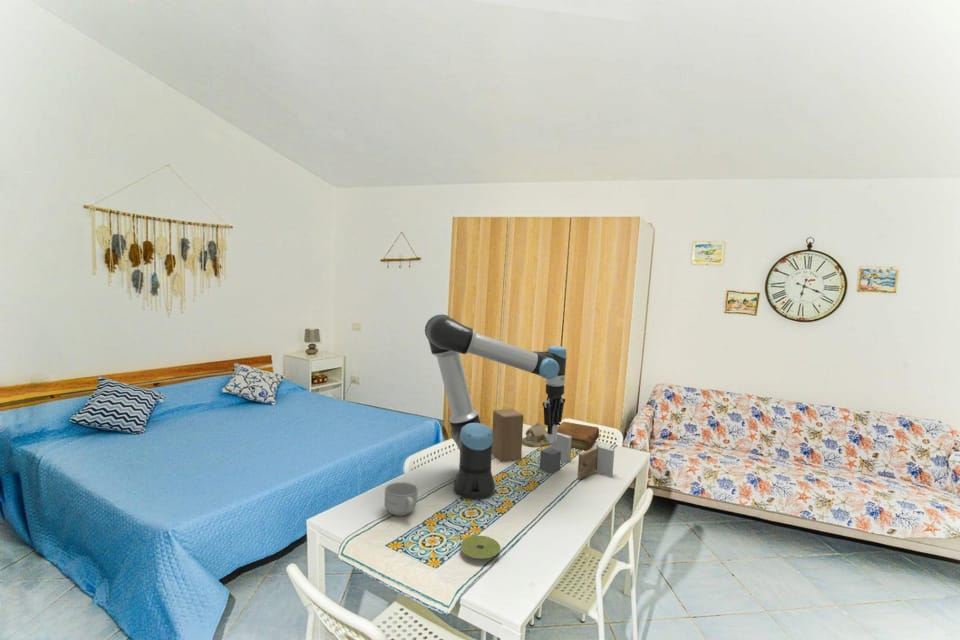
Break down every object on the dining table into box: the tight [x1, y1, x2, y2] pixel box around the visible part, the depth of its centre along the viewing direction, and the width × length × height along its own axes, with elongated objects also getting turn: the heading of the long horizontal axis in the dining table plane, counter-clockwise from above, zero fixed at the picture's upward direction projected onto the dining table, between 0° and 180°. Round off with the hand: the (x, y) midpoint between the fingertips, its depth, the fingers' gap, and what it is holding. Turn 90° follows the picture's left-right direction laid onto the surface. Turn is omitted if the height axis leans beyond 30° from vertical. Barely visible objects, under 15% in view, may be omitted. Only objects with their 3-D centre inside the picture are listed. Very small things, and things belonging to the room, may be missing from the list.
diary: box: [549, 420, 600, 452], centre depth 227 cm, size 23×19×6 cm
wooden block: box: [491, 408, 524, 463], centre depth 202 cm, size 10×10×20 cm
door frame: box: [550, 433, 615, 478], centre depth 195 cm, size 2×29×11 cm, turn 47°
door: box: [576, 444, 599, 480], centre depth 185 cm, size 2×13×11 cm, turn 135°
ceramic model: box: [522, 422, 551, 448], centre depth 221 cm, size 14×11×10 cm
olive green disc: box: [460, 535, 501, 559], centre depth 130 cm, size 11×11×2 cm
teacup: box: [384, 481, 419, 517], centre depth 150 cm, size 14×11×8 cm
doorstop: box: [539, 446, 561, 474], centre depth 190 cm, size 6×6×8 cm
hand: (551, 440), depth 189 cm, fingers open, 1 cm apart
